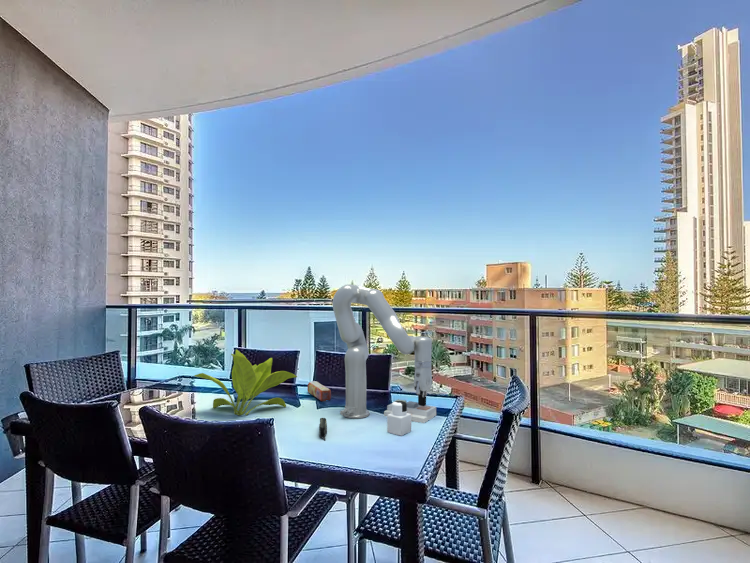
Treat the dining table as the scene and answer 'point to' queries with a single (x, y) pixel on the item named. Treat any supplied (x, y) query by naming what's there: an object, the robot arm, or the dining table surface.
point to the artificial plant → (250, 383)
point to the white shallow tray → (416, 413)
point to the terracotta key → (423, 408)
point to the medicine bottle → (399, 419)
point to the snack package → (319, 391)
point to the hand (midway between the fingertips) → (422, 405)
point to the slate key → (412, 404)
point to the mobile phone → (323, 428)
